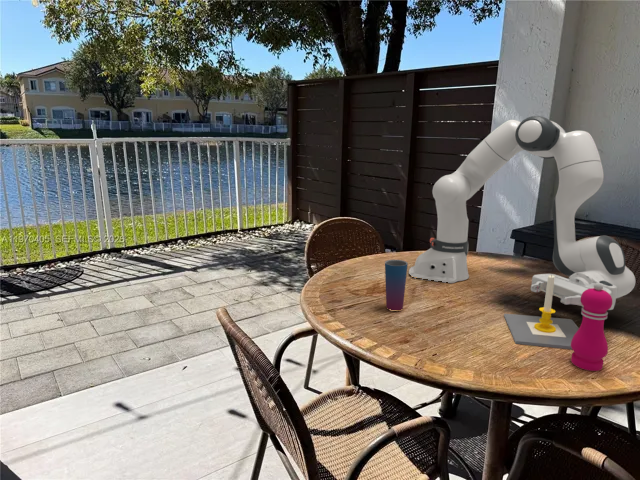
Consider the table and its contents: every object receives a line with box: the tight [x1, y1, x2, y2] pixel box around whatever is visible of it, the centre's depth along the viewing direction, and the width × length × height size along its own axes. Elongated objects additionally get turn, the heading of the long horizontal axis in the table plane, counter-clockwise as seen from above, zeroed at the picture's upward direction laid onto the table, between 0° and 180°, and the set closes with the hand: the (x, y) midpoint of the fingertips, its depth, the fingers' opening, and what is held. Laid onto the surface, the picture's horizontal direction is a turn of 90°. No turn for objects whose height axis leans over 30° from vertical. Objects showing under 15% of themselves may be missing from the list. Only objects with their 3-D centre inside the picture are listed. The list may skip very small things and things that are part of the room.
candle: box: [534, 275, 556, 333], centre depth 113 cm, size 5×5×16 cm
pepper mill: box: [570, 283, 612, 372], centre depth 96 cm, size 7×7×20 cm
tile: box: [503, 313, 580, 351], centre depth 114 cm, size 18×18×1 cm
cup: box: [384, 259, 408, 310], centre depth 129 cm, size 7×7×15 cm
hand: (547, 294), depth 112 cm, fingers open, 8 cm apart
